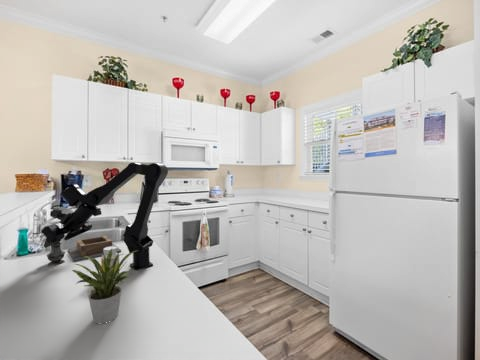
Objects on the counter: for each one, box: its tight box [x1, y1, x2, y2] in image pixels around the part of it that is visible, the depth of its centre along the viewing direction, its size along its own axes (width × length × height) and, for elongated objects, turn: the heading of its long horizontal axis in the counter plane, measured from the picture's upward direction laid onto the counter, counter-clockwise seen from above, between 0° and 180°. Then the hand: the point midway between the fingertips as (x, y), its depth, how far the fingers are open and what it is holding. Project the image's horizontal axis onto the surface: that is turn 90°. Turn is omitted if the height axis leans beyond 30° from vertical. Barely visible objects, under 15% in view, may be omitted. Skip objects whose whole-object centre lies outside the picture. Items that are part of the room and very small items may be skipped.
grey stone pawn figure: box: [46, 241, 66, 267], centre depth 94 cm, size 6×6×12 cm
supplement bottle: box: [100, 245, 120, 278], centre depth 82 cm, size 5×5×10 cm
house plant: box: [72, 249, 138, 324], centre depth 60 cm, size 14×14×16 cm
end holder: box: [67, 235, 122, 263], centre depth 107 cm, size 18×17×5 cm
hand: (55, 243), depth 94 cm, fingers open, 9 cm apart
